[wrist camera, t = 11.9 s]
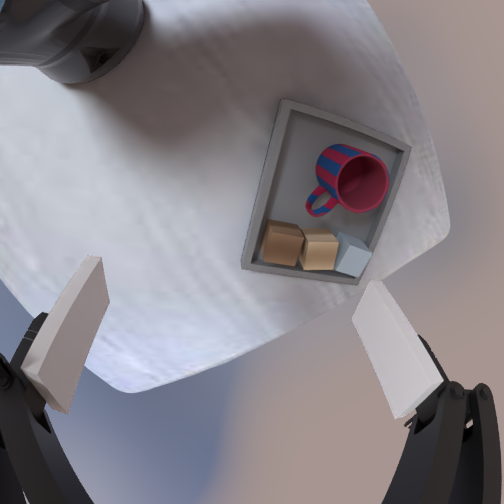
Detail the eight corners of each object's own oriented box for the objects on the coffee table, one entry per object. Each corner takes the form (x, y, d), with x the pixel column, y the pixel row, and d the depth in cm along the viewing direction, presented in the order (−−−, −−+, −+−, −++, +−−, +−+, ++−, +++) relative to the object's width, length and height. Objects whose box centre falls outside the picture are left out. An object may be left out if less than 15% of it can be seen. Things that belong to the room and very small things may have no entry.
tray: (280, 99, 28) (284, 98, 26) (402, 144, 31) (411, 146, 29) (240, 260, 38) (241, 268, 36) (352, 277, 41) (357, 285, 39)
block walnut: (267, 218, 35) (272, 231, 31) (296, 224, 35) (304, 237, 32) (260, 245, 36) (263, 261, 33) (288, 250, 37) (294, 266, 34)
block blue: (339, 231, 36) (350, 245, 33) (361, 240, 37) (372, 253, 34) (326, 255, 38) (335, 270, 34) (348, 262, 39) (358, 277, 35)
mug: (370, 178, 33) (397, 194, 27) (308, 216, 35) (324, 239, 29) (349, 134, 30) (375, 141, 24) (282, 174, 32) (295, 189, 26)
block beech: (300, 227, 36) (308, 241, 32) (328, 228, 36) (339, 242, 32) (297, 254, 38) (303, 269, 34) (324, 254, 38) (333, 269, 34)
